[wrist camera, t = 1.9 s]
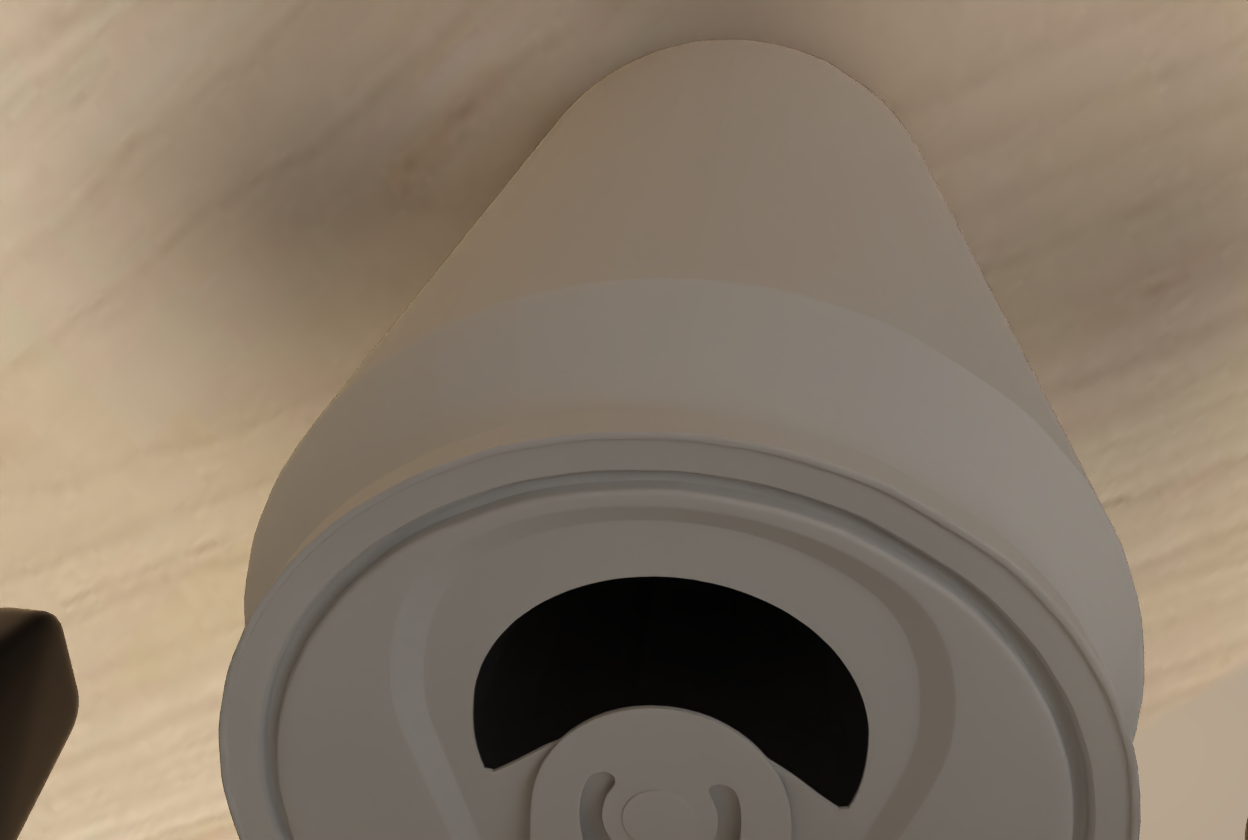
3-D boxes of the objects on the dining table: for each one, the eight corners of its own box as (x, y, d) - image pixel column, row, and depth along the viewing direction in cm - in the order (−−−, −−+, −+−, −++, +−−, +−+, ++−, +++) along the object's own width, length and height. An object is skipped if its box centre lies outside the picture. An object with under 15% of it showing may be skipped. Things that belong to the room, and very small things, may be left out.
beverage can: (966, 40, 16) (1390, 417, 5) (902, 441, 19) (1082, 1222, 8) (522, 20, 16) (51, 318, 6) (528, 412, 19) (225, 1102, 8)
